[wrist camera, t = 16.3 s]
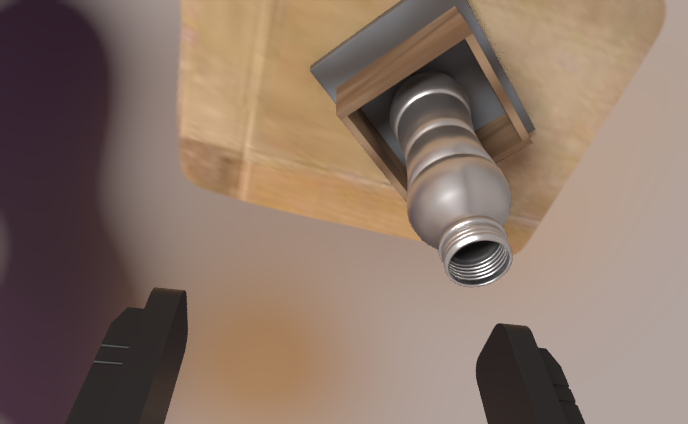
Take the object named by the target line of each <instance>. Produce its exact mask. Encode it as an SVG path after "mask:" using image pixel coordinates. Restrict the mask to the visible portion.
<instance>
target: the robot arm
mask: <svg viewBox="0 0 688 424" xmlns="http://www.w3.org/2000/svg"><path fill="white" fill-rule="evenodd" d="M187 335H188V321H187V296H186V291H185V290H175V289H165V288H153V290H152V291H151V294H150V296H149V298H148V301H147V303H146V306H145V308H144V309H141V308H130V307H128V308H126V310H124V311H123V312H122V313H121V314H120V315H119V316H118V317H117V318H116V319H115V320H114V321H113V322H112V323H111V324H110V326H109V329H108V331H107V333H106V335H105V337H104V339H103V342H102V346H101V347H100V348H99V350H98V353H97V355H96V357H95V359H94V363H93V364H92V366H91V368H90V370H89V372H88V374H87V376H86V379H85V381H84V383H83V385H82V387H81V390H80V392H79V394H78V396H77V398H76V400H75V403H74V405H73V407H72V409H71V412H70V414H69V416H68V418H67V420H66V422H65V424H164V422H165V419H166V415H167V412H168V408H169V404H170V401H171V398H172V394H173V391H174V387H175V384H176V380H177V377H178V374H179V370H180V366H181V363H182V360H183V356H184V353H185V348H186V342H187ZM476 379H477V384H478V387H479V391H480V395H481V399H482V403H483V407H484V411H485V414H486V418H487V422H488V424H585V422H584V420H583V418H582V415H581V413H580V411H579V408H578V406H577V405H575V399H574V397H573V394H572V392H571V390H570V389H569V388H568V387H569V385H568V383H567V380H566V378H565V375H564V373H563V371H562V368H561V366H560V365H559V364H558V363H557V361H556V360H555V359H554V358H553V356H552V355H551V354H550V353H549V352H548V350H547V349H544V348H538V347H537V344H536V342H535V339H534V337H533V334H532V332H531V330H530V329H529V328H528V327H527V326H521V325H510V324H501V323H499V324H497V325H496V326H495V327H494V329H493V331H492V333H491V334H490V336H489V338H488V340H487V342H486V344H485V346H484V348H483V349H482V351H481V353H480V355H479V357H478V360H477V364H476Z"/></svg>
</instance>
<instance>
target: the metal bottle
mask: <svg viewBox="0 0 688 424" xmlns="http://www.w3.org/2000/svg"><path fill="white" fill-rule="evenodd" d="M390 126H391V129H392V131H393V134H394V136H395V138H396V140H397V142H398V143H399V145H400V146H401V149H402V152H403V154H404V157H405V160H406V169H407V177H408V182H407V214H408V219H409V222H410V224H411V226H412V228H413V229H414V231H415V232H416V233H417V235H418V236H419V237H420V238H421V240H422V241H424V242H425V243H426V244H428V245H429V246H432V247H434V248H436V249H437V250H438V252H439V256H440V258H441V261H442V262H443V264H444V268H445V271H446V273H447V275H448V277H449V278H450V279H451V280H452V281H453V282H454V283H456V284H458V285H460V286H464V287H480V286H484V285H488V284H490V283H492V282H494V281H496V280H498V279H499V278H501V277H502V276H503V275H504V274H505V273H506V272H507V271H508V269H509V268H510V266H511V264H512V251H511V248H510V245H509V243H508V239H507V235H506V232H505V230H504V228H503V226H504V224H505V222H506V220H507V218H508V216H509V212H510V207H511V195H510V187H509V183H508V181H507V179H506V178H505V176H504V174H503V173H502V171H501V170H500V168H499V167H498V166H497V164H496V163H495V162H494V161H493V160H492V158H491V157H490V156H489V155H488V153H487V152H486V151H485V150H484V148H483V146H482V145H481V143H480V141H479V140H478V138H477V136H476V134H475V131H474V128H473V124H472V120H471V108H470V103H469V99H468V96H467V93H466V91H465V90H464V88H463V87H462V86H461V85H460V84H459V83H458V82H457V81H456V80H455V79H454V78H452V77H451V76H449V75H448V74H445V73H442V72H436V71H428V72H423V73H419V74H417V75H415V76H412V77H411V78H409V79H408V80H406V81H405V82H404V83H403V84H402V85H401V86H400V87H399V88H398V90H397V91H396V93H395V95H394V97H393V99H392V104H391V109H390Z"/></svg>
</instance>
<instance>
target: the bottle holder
mask: <svg viewBox="0 0 688 424" xmlns="http://www.w3.org/2000/svg"><path fill="white" fill-rule="evenodd" d="M428 71H436V72H442V73H445V74H448V75H449V76H451V77H452V78H454V79H455V80H456V81H457V82H458V83H459V84H460V85H461V86H462V87H463V88H464V90H465V91H466V93H467V96H468V99H469V103H470V108H471V120H472V124H473V128H474V131H475V134H476V136H477V138H478V140H479V141H480V143H481V145H482V146H483V148H484V150H485V151H486V152H487V153H488V155H489V156H490V157H491V158H492V160H493V161H494V162H495V163H497V162H499V161H501V160H502V159H504V158H506V157H508V156H510V155H512V154H513V153H515V152H517V151H519V150H521V149H523V148H524V147H526V146H528V145H530V144H532V143H533V142H532V140H531V139H530V137H529V135H528V133H529V132H530V131H532V130H534V129H535V128H534V126H533V124H532V123H531V121H530V119H529V117H528V115H527V113H526V111H525V109H524V108H523V106H522V104H521V102H520V100H519V98H518V96H517V94H516V93H515V91H514V89H513V87H512V85H511V83H510V81H509V79H508V78H507V76H506V74H505V72H504V70H503V68H502V66H501V64H500V63H499V61H498V59H497V57H496V55H495V53H494V51H493V49H492V48H491V46H490V44H489V42H488V40H487V38H486V36H485V34H484V33H483V31H482V29H481V27H480V25H479V23H478V21H477V19H476V18H475V16H474V14H473V12H472V10H471V8H470V6H469V4H468V3H467V1H466V0H401V1H400V2H398V3H397V4H396V5H394V6H393V7H391V8H390V9H389V10H387V11H386V12H384V13H383V14H382V15H380V16H379V17H378V18H376V19H375V20H373V21H372V22H371V23H369V24H368V25H366V26H365V27H364V28H362V29H361V30H360V31H358V32H357V33H355V34H354V35H353V36H351V37H350V38H349V39H347V40H346V41H344V42H343V43H342V44H340V45H339V46H337V47H336V48H335V49H333V50H332V51H331V52H329V53H328V54H326V55H325V56H324V57H322V58H321V59H319V60H318V61H317V62H315V63H314V64H313V65H311V68H310V72H311V73H312V74H313V76H314V77H315V78H316V79H317V81H318V82H319V83H320V84H321V86H322V87H323V88H324V90H325V91H326V92H327V93H328V95H329V96H330V97H331V98H332V100H333V101H334V102H335V104H336V115H337V116H338V117H339V118H340V120H341V121H342V122H343V123H344V125H345V126H346V127H347V128H348V130H349V131H350V132H351V133H352V135H353V136H354V137H355V138H356V140H357V141H358V142H359V143H360V145H361V146H362V147H363V148H364V150H365V151H366V152H367V153H368V155H369V156H370V157H371V159H372V160H373V161H374V162H375V164H376V165H377V166H378V167H379V169H380V170H381V171H382V172H383V174H384V175H385V176H386V177H387V179H388V180H389V181H390V182H391V184H392V185H393V186H394V187H395V189H396V190H397V191H398V192H399V194H400V195H401V196H402V197H403V199H404V200H405V201H406V202H407V182H408V177H407V169H406V160H405V157H404V154H403V152H402V149H401V146H400V145H399V143H398V142H397V140H396V138H395V136H394V134H393V131H392V129H391V126H390V109H391V104H392V99H393V97H394V95H395V93H396V91H397V90H398V88H399V87H400V86H401V85H402V84H403V83H404V82H405V81H406V80H408V79H409V78H411V77H412V76H415V75H417V74H419V73H423V72H428Z"/></svg>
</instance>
